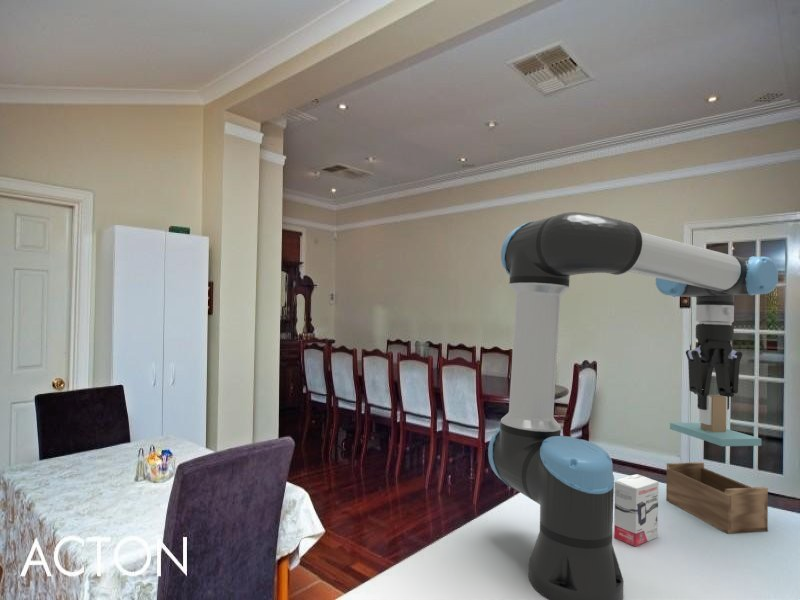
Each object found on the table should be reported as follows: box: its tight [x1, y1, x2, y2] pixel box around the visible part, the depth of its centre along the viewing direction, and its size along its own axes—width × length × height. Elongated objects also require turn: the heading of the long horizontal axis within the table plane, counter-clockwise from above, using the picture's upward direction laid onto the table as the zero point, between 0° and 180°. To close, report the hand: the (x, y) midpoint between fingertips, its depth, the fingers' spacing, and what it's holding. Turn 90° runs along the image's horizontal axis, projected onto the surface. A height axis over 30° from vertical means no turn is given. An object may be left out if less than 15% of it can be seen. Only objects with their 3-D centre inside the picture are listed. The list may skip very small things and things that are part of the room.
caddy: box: [665, 461, 769, 535], centre depth 111 cm, size 10×18×9 cm, turn 10°
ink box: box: [613, 473, 659, 547], centre depth 99 cm, size 8×5×12 cm, turn 123°
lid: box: [669, 394, 762, 447], centre depth 111 cm, size 10×15×10 cm, turn 10°
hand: (713, 423), depth 111 cm, fingers closed on lid, 3 cm apart
